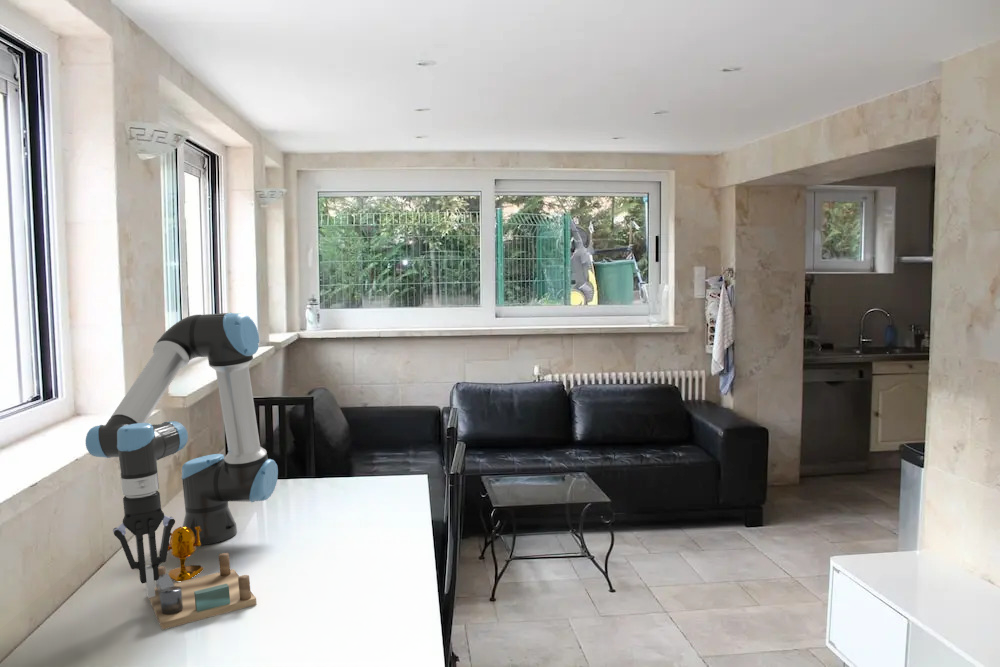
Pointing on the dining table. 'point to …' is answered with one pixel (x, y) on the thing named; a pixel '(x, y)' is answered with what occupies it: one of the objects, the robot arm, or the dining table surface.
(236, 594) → the board
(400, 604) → the dining table surface
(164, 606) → the leg
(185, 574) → the figurine
